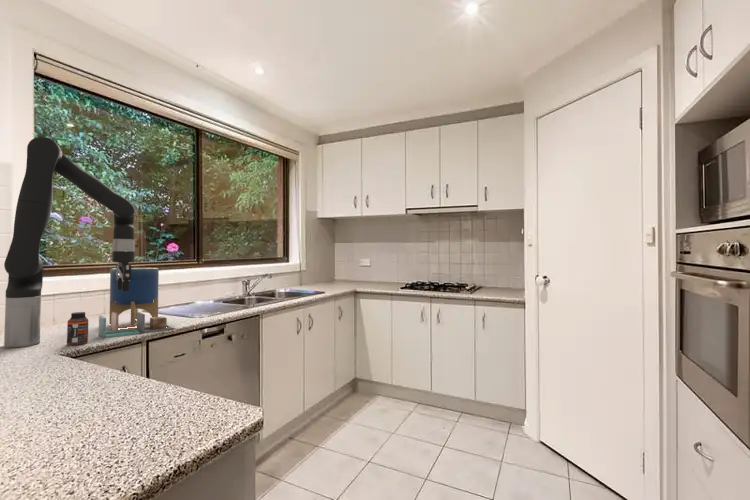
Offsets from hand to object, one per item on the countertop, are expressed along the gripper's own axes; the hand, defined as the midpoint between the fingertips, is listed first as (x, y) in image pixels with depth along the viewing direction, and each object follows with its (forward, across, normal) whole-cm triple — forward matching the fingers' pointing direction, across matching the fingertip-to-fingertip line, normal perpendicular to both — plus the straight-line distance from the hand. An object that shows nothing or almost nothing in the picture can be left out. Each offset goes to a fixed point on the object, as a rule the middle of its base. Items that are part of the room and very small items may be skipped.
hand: (122, 290), depth 149 cm
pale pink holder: (+18, -10, +5) cm, 21 cm away
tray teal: (+18, 0, -1) cm, 18 cm away
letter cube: (+18, 0, +13) cm, 22 cm away
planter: (+18, -26, +10) cm, 33 cm away
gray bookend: (+18, 0, +12) cm, 22 cm away
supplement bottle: (+18, +7, -15) cm, 25 cm away
